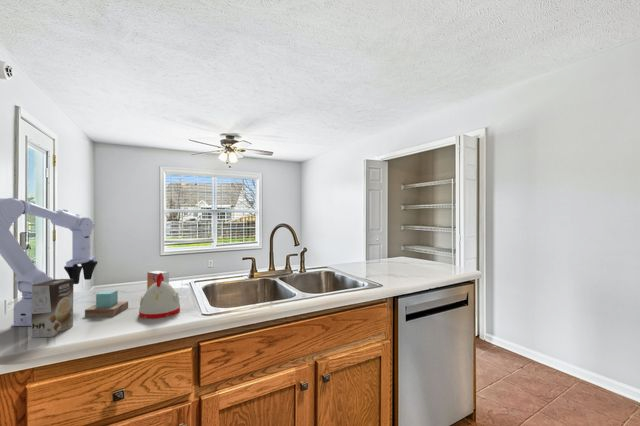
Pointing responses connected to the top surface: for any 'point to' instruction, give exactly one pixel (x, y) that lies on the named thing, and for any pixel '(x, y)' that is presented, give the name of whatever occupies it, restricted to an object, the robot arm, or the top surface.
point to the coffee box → (52, 307)
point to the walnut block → (106, 310)
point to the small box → (153, 277)
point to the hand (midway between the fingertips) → (81, 281)
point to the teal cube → (106, 298)
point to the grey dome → (159, 300)
